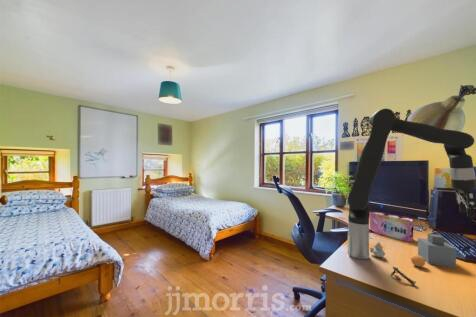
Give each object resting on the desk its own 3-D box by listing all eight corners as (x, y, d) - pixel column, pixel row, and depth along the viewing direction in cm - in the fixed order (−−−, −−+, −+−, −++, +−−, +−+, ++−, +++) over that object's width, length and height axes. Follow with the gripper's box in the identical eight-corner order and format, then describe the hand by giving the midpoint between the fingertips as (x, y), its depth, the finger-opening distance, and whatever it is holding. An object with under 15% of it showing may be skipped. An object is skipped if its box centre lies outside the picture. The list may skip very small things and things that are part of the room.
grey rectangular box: (428, 263, 98) (428, 237, 99) (418, 254, 108) (417, 231, 108) (456, 267, 95) (455, 240, 95) (442, 258, 105) (442, 233, 105)
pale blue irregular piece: (383, 260, 102) (383, 243, 102) (368, 255, 106) (368, 240, 106) (386, 256, 105) (386, 241, 105) (371, 252, 110) (371, 237, 110)
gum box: (416, 240, 129) (416, 218, 129) (410, 242, 125) (410, 220, 125) (375, 229, 150) (375, 211, 150) (369, 231, 146) (369, 212, 146)
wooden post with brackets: (389, 272, 88) (394, 264, 87) (410, 289, 82) (416, 281, 80) (387, 273, 87) (392, 265, 86) (408, 290, 81) (414, 282, 79)
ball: (413, 267, 94) (413, 256, 95) (409, 262, 99) (408, 252, 99) (427, 269, 93) (427, 258, 93) (421, 264, 97) (421, 253, 98)
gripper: (446, 177, 99) (450, 211, 99) (456, 180, 87) (461, 218, 87) (468, 176, 95) (472, 211, 95) (482, 179, 83) (488, 219, 83)
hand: (467, 214), depth 91 cm, fingers open, 8 cm apart
